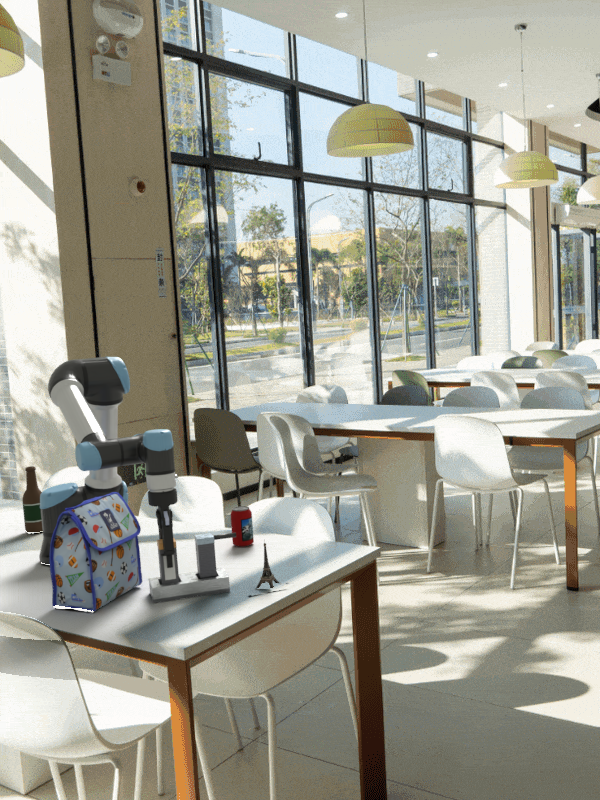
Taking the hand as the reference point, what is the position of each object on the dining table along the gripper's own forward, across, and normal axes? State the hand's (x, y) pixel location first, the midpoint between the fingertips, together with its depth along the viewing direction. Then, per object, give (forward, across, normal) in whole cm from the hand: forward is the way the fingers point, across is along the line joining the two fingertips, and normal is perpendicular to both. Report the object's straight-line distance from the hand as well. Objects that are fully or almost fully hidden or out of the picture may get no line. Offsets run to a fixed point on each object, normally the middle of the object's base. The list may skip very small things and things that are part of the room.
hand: (169, 575), depth 217 cm
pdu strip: (+5, 0, -7) cm, 9 cm away
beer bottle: (+6, +97, +37) cm, 104 cm away
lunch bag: (+6, +6, +18) cm, 20 cm away
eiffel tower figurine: (+6, -5, -25) cm, 26 cm away
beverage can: (+5, +40, -28) cm, 49 cm away
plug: (+4, 0, 0) cm, 4 cm away
